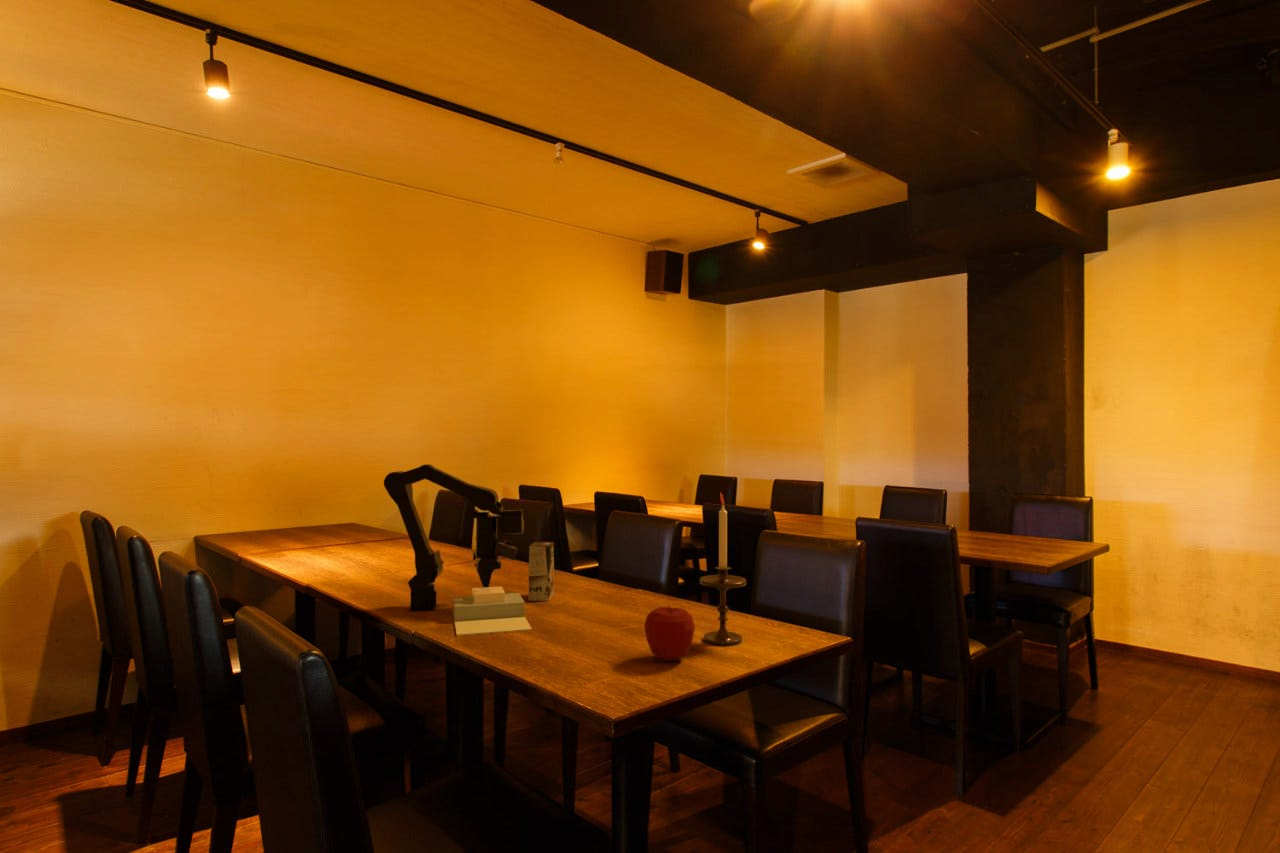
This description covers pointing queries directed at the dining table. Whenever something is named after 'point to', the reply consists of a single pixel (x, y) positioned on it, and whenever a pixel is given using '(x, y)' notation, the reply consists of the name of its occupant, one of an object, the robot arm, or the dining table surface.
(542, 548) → the coffee box
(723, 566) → the candlestick
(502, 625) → the mat
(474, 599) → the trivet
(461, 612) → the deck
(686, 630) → the apple
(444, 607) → the dining table surface
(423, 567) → the robot arm
